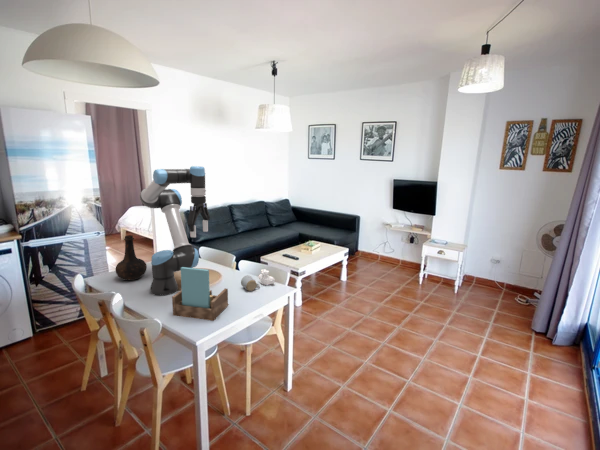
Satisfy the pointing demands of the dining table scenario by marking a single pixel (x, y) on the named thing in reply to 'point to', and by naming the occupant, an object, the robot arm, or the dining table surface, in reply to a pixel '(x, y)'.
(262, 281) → the white lumpy piece
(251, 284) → the ceramic mug
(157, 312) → the dining table surface
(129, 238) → the glass bottle
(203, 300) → the teal sheet
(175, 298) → the walnut rack
